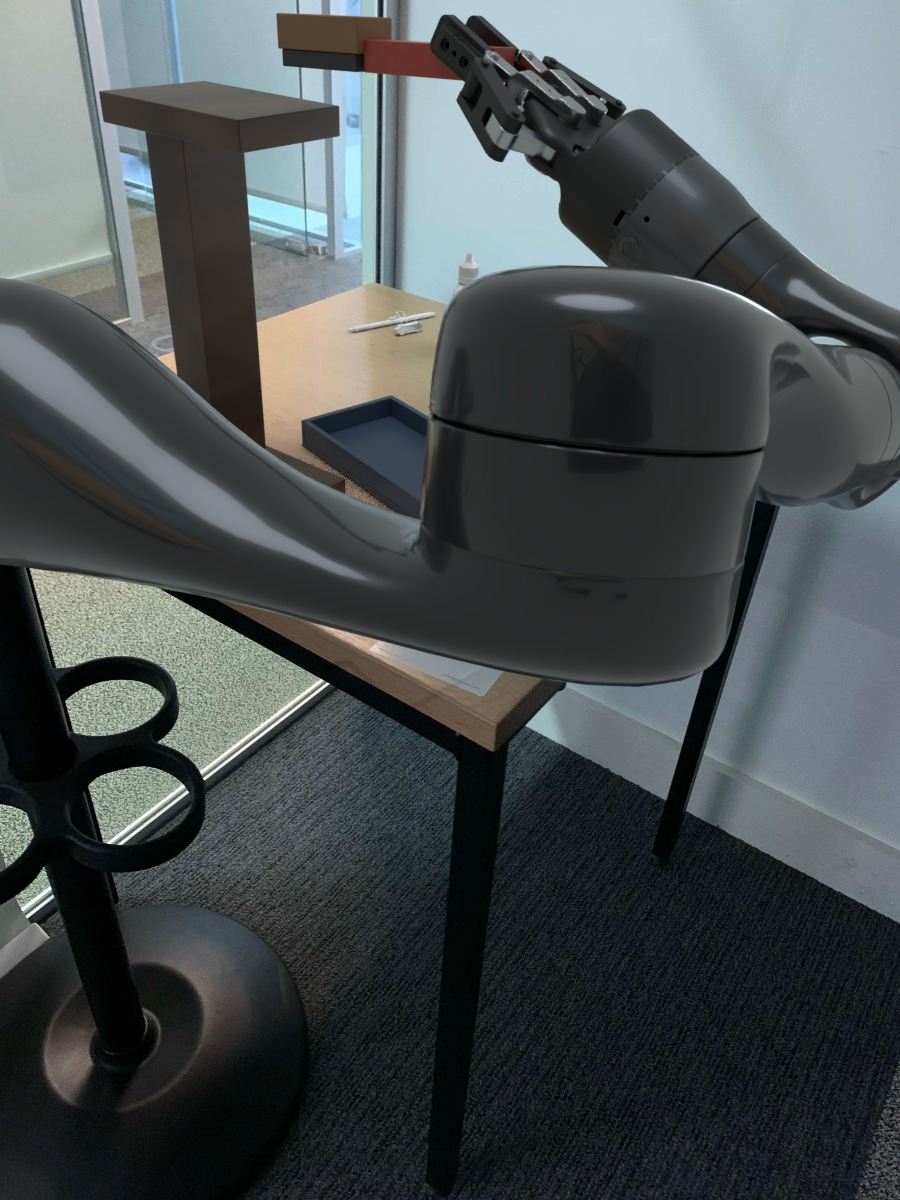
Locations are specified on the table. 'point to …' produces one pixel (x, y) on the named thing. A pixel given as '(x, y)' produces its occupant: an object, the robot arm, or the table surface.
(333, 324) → the table surface
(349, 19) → the brush
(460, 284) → the eye dropper bottle
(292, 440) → the table surface
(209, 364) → the shelf stand
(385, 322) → the picture light
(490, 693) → the table surface
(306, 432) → the tray
